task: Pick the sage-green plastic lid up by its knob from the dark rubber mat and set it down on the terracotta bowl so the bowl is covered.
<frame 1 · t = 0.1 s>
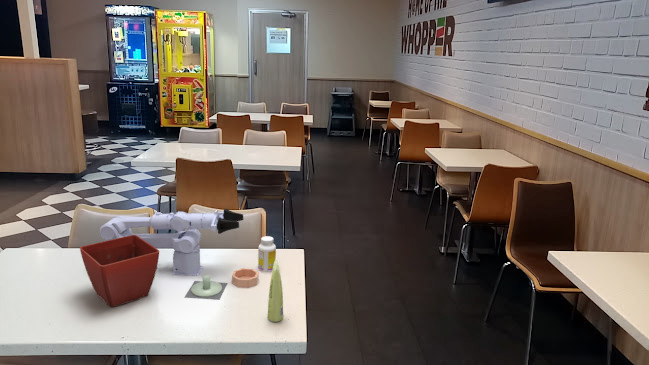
hand: (241, 220, 178), 22 cm above the table, tool horizontal, fingers open, 7 cm apart
bowl: (245, 282, 178), on the table
tube: (275, 318, 157), on the table
lid: (206, 289, 171), resting on mat
mat: (206, 291, 171), on the table
supplement bottle: (266, 269, 190), on the table
plant pot: (122, 295, 166), on the table
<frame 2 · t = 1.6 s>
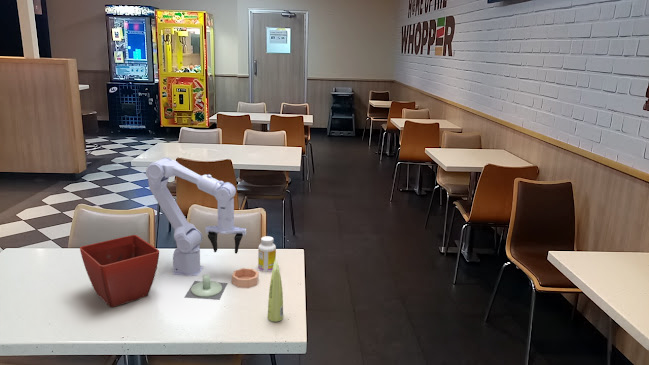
hand: (226, 251, 180), 10 cm above the table, tool pointing down, fingers open, 7 cm apart
nothing on the table moved.
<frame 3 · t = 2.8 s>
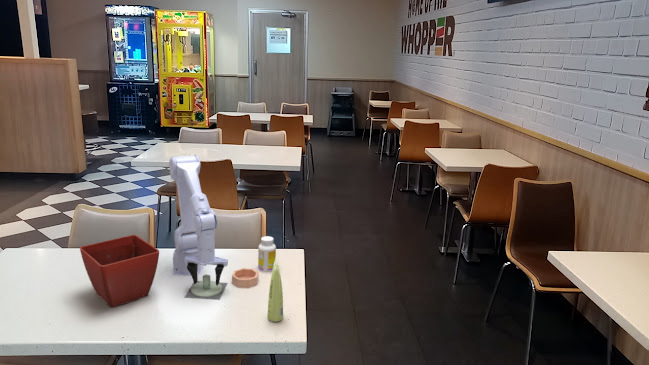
hand: (206, 283, 170), 3 cm above the table, tool pointing down, fingers open, 7 cm apart
nothing on the table moved.
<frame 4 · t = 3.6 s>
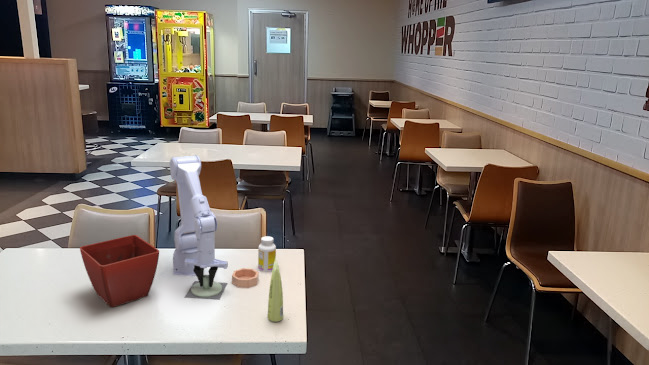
hand: (206, 285, 170), 2 cm above the table, tool pointing down, fingers closed on lid, 3 cm apart
lid: (206, 289, 171), resting on mat, touching gripper
everything else where it was.
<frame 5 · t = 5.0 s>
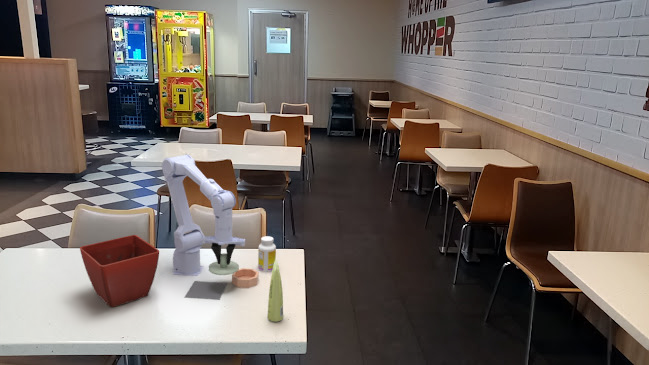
hand: (224, 263, 171), 9 cm above the table, tool pointing down, fingers closed on lid, 3 cm apart
lid: (223, 268, 172), point 7 cm above the table, touching gripper
everything else where it was.
when the fingers open (6 cm above the table, at t = 6.3 s): lid stays where it is, resting on bowl.
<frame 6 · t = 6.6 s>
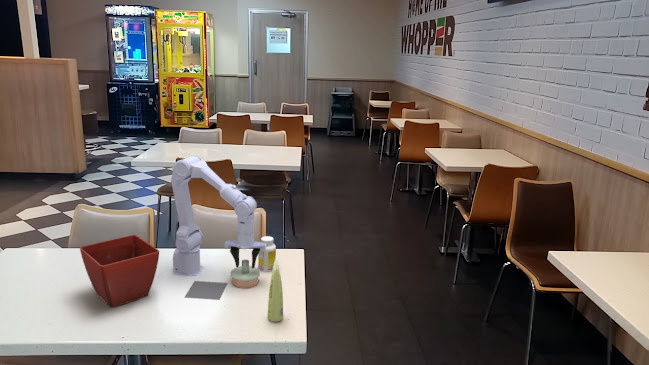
hand: (245, 266, 177), 6 cm above the table, tool pointing down, fingers open, 5 cm apart
lid: (245, 274, 177), point 3 cm above the table, touching bowl
everything else where it was.
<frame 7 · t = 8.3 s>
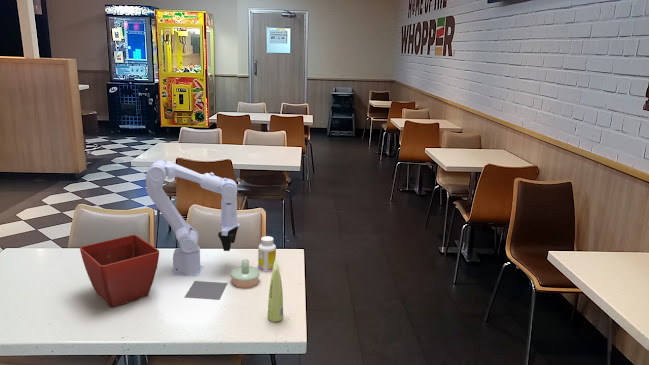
hand: (229, 246, 184), 10 cm above the table, tool pointing down, fingers open, 7 cm apart
nothing on the table moved.
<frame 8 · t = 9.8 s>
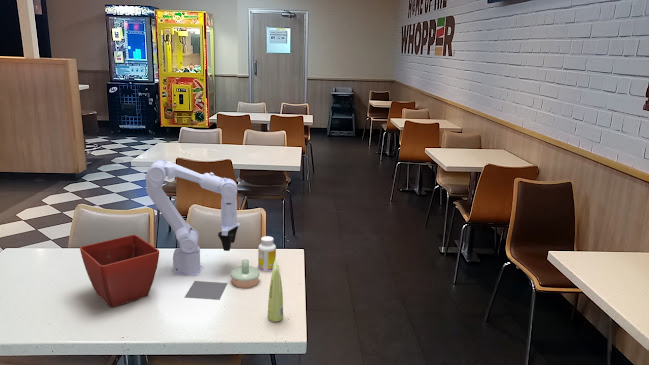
hand: (229, 246, 184), 10 cm above the table, tool pointing down, fingers open, 7 cm apart
nothing on the table moved.
at the end: lid 0.2 cm from the bowl (horizontally); lid inside the target area on the bowl (0.2 cm from its centre), point 3.5 cm above the bowl's base; lid tilted 0° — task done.
